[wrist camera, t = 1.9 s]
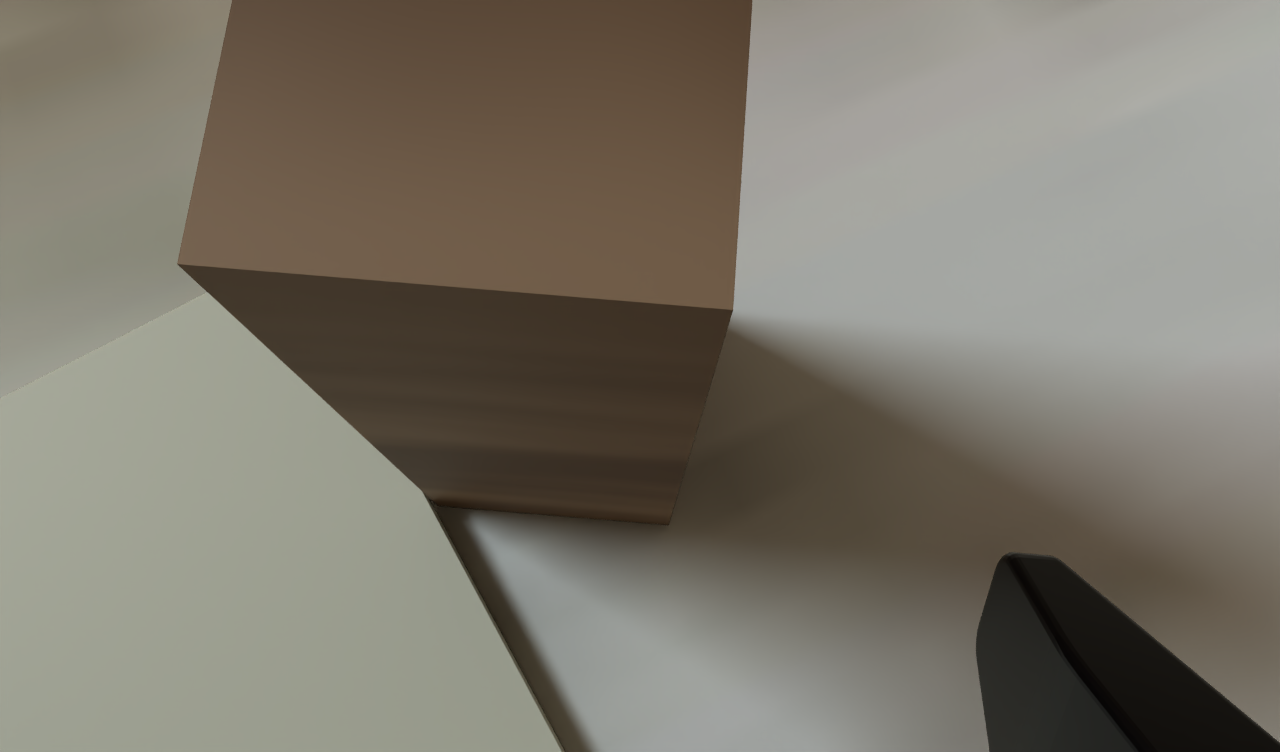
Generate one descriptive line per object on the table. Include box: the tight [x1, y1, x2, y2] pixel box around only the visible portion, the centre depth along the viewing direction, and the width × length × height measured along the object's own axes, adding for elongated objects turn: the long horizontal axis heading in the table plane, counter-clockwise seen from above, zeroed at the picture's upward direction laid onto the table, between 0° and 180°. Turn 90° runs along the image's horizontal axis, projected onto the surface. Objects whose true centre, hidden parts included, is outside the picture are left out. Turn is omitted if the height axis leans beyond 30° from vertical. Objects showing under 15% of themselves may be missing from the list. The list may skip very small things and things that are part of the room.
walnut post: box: [177, 0, 752, 525], centre depth 15 cm, size 4×4×12 cm
